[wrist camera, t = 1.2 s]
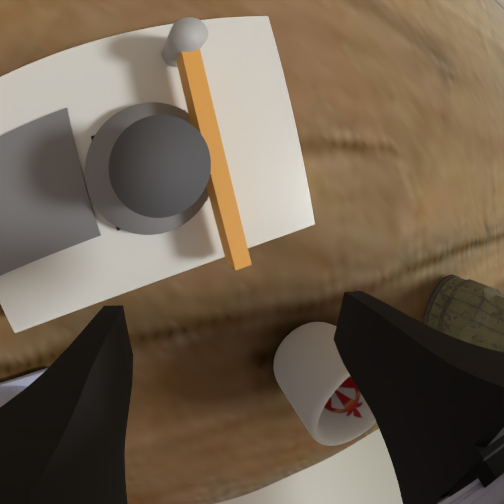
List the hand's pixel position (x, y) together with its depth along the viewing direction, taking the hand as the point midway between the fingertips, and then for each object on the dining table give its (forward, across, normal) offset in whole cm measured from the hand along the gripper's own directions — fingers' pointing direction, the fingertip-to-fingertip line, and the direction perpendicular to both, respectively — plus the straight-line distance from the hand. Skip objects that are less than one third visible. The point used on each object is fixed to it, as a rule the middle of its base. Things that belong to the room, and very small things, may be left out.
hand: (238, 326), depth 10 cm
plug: (+11, +4, -3) cm, 12 cm away
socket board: (+11, +5, -4) cm, 13 cm away
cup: (+11, -9, +11) cm, 18 cm away
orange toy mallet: (+9, +1, -5) cm, 10 cm away
